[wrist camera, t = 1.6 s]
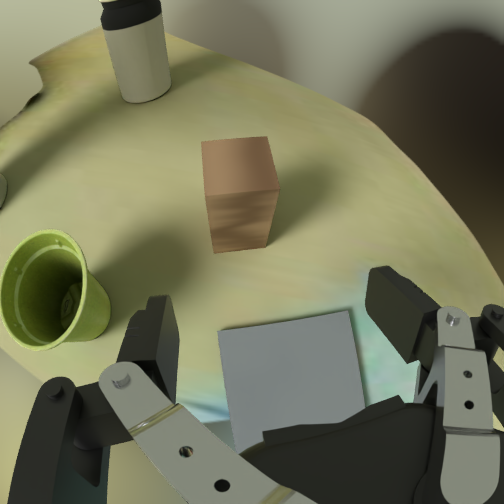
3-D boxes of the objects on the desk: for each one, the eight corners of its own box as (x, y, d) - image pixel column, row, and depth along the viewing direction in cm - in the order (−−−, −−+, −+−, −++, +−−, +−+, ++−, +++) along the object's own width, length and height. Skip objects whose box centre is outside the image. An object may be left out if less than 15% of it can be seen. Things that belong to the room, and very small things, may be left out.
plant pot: (135, 272, 27) (100, 233, 19) (120, 368, 23) (73, 365, 15) (61, 261, 26) (16, 225, 18) (44, 346, 23) (-11, 332, 15)
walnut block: (214, 253, 28) (204, 196, 19) (209, 208, 30) (201, 141, 20) (265, 247, 28) (280, 188, 19) (257, 203, 30) (266, 136, 21)
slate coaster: (237, 458, 21) (237, 461, 20) (217, 331, 25) (217, 331, 24) (364, 429, 22) (368, 431, 21) (345, 311, 26) (348, 310, 26)
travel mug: (158, 106, 36) (136, -6, 19) (113, 103, 36) (83, 5, 19) (179, 76, 39) (169, -23, 22) (137, 75, 39) (119, -15, 22)
